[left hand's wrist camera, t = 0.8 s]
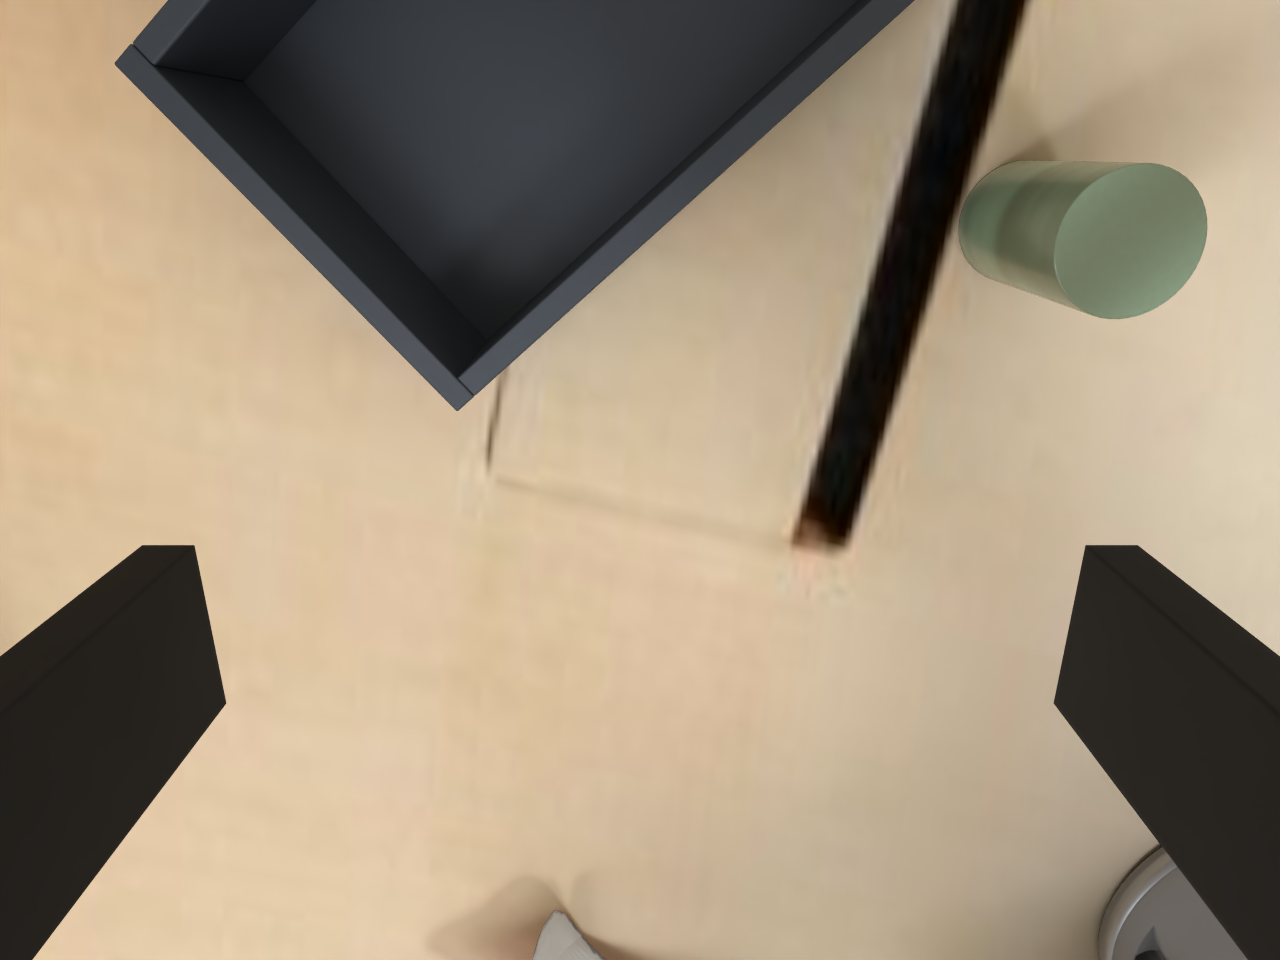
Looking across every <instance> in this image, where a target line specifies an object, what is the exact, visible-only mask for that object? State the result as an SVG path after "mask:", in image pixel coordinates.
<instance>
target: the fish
mask: <svg viewBox="0 0 1280 960" xmlns="http://www.w3.org/2000/svg"><path fill="white" fill-rule="evenodd" d="M532 960H605V958H604V957H603V956H602V955H601V954H600V953H599V952H598V951H597V950H596V949H595V948H594V947H593V946H592V945H591V944H590V943H589V942H588V941H587V940H586V939H585V938H584V937H583V936H582V935H581V934H580V932H579V931H578V929H577V928H576V926H575V925H574V924H573V922H572V921H571V920H570V919H569V918H568V917H567V916H566V915H565V914H564V913H562V912H560V911H554V912H553V913H552V914H551V916H550V917H549V919H548V920H547V922H546V923H545V924H544V926H543V928H542V931H541V934H540V936H539V939H538V942H537V945H536V949H535V952H534V955H533V959H532Z"/></svg>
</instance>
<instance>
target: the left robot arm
mask: <svg viewBox="0 0 1280 960" xmlns="http://www.w3.org/2000/svg"><path fill="white" fill-rule="evenodd" d="M225 704H226V700H225V695H224V690H223V685H222V680H221V675H220V670H219V665H218V660H217V655H216V650H215V645H214V640H213V635H212V630H211V625H210V620H209V615H208V610H207V606H206V601H205V596H204V591H203V586H202V581H201V576H200V571H199V566H198V561H197V556H196V551H195V546H194V545H142V546H141V547H140V548H138V549H137V550H136V551H134V552H133V553H132V554H131V555H129V556H128V557H127V558H126V559H124V560H123V561H122V562H120V563H119V564H118V565H117V566H115V567H114V568H113V569H111V570H110V571H109V572H108V573H106V574H105V575H104V576H103V577H101V578H100V579H99V580H97V581H96V582H95V583H94V584H92V585H91V586H90V587H88V588H87V589H86V590H85V591H83V592H82V593H81V594H79V595H78V596H77V597H76V598H74V599H73V600H72V601H71V602H69V603H68V604H67V605H65V606H64V607H63V608H62V609H60V610H59V611H58V612H56V613H55V614H54V615H53V616H51V617H50V618H49V619H48V620H46V621H45V622H44V623H42V624H41V625H40V626H39V627H37V628H36V629H35V630H33V631H32V632H31V633H30V634H28V635H27V636H26V637H24V638H23V639H22V640H21V641H19V642H18V643H17V644H16V645H14V646H13V647H12V648H10V649H9V650H8V651H7V652H5V653H4V654H3V655H1V656H0V960H32V959H33V958H34V957H35V956H36V954H37V953H38V952H39V950H40V949H41V948H42V946H43V945H44V944H45V942H46V941H47V940H48V938H49V937H50V936H51V934H52V933H53V932H54V930H55V929H56V928H57V926H58V925H59V924H60V922H61V921H62V920H63V918H64V917H65V916H66V915H67V913H68V912H69V911H70V909H71V908H72V907H73V905H74V904H75V903H76V901H77V900H78V899H79V897H80V896H81V895H82V893H83V892H84V891H85V889H86V888H87V887H88V885H89V884H90V883H91V881H92V880H93V879H94V878H95V876H96V875H97V874H98V872H99V871H100V870H101V868H102V867H103V866H104V864H105V863H106V862H107V860H108V859H109V858H110V856H111V855H112V854H113V852H114V851H115V850H116V848H117V847H118V846H119V844H120V843H121V842H122V840H123V839H124V838H125V837H126V835H127V834H128V833H129V831H130V830H131V829H132V827H133V826H134V825H135V823H136V822H137V821H138V819H139V818H140V817H141V815H142V814H143V813H144V811H145V810H146V809H147V807H148V806H149V805H150V803H151V802H152V801H153V799H154V798H155V797H156V796H157V794H158V793H159V792H160V790H161V789H162V788H163V786H164V785H165V784H166V782H167V781H168V780H169V778H170V777H171V776H172V774H173V773H174V772H175V770H176V769H177V768H178V766H179V765H180V764H181V762H182V761H183V760H184V759H185V757H186V756H187V755H188V753H189V752H190V751H191V749H192V748H193V747H194V745H195V744H196V743H197V741H198V740H199V739H200V737H201V736H202V735H203V733H204V732H205V731H206V729H207V728H208V727H209V725H210V724H211V723H212V721H213V720H214V719H215V718H216V716H217V715H218V714H219V712H220V711H221V710H222V708H223V707H224V706H225ZM1054 704H1055V706H1056V707H1057V708H1058V710H1059V711H1060V712H1061V714H1062V715H1063V716H1064V718H1065V719H1066V720H1067V721H1068V723H1069V724H1070V725H1071V727H1072V728H1073V729H1074V731H1075V732H1076V733H1077V735H1078V736H1079V737H1080V739H1081V740H1082V741H1083V743H1084V744H1085V745H1086V747H1087V748H1088V749H1089V751H1090V752H1091V753H1092V755H1093V756H1094V757H1095V759H1096V760H1097V761H1098V762H1099V764H1100V765H1101V766H1102V768H1103V769H1104V770H1105V772H1106V773H1107V774H1108V776H1109V777H1110V778H1111V780H1112V781H1113V782H1114V784H1115V785H1116V786H1117V788H1118V789H1119V790H1120V792H1121V793H1122V794H1123V796H1124V797H1125V798H1126V799H1127V801H1128V802H1129V803H1130V805H1131V806H1132V807H1133V809H1134V810H1135V811H1136V813H1137V814H1138V815H1139V817H1140V818H1141V819H1142V821H1143V822H1144V823H1145V825H1146V826H1147V827H1148V829H1149V830H1150V831H1151V833H1152V834H1153V835H1154V837H1155V838H1156V839H1157V840H1158V842H1159V843H1160V844H1161V846H1162V847H1161V848H1160V849H1158V850H1157V851H1156V852H1154V853H1153V854H1152V855H1150V856H1149V857H1148V858H1147V859H1146V860H1144V861H1143V862H1142V863H1141V864H1140V865H1139V866H1138V867H1137V868H1136V869H1135V870H1134V871H1133V872H1132V873H1131V874H1130V875H1129V876H1128V877H1127V878H1126V880H1125V881H1124V882H1123V883H1122V884H1121V886H1120V887H1119V888H1118V890H1117V891H1116V893H1115V894H1114V896H1113V898H1112V899H1111V901H1110V903H1109V905H1108V907H1107V909H1106V912H1105V914H1104V916H1103V919H1102V923H1101V926H1100V931H1099V938H1098V952H1099V959H1100V960H1280V656H1279V655H1277V654H1276V653H1275V652H1273V651H1272V650H1271V649H1270V648H1268V647H1267V646H1266V645H1264V644H1263V643H1262V642H1261V641H1259V640H1258V639H1257V638H1256V637H1254V636H1253V635H1252V634H1250V633H1249V632H1248V631H1247V630H1245V629H1244V628H1243V627H1241V626H1240V625H1239V624H1238V623H1236V622H1235V621H1234V620H1232V619H1231V618H1230V617H1229V616H1227V615H1226V614H1225V613H1224V612H1222V611H1221V610H1220V609H1218V608H1217V607H1216V606H1215V605H1213V604H1212V603H1211V602H1209V601H1208V600H1207V599H1206V598H1204V597H1203V596H1202V595H1201V594H1199V593H1198V592H1197V591H1195V590H1194V589H1193V588H1192V587H1190V586H1189V585H1188V584H1186V583H1185V582H1184V581H1183V580H1181V579H1180V578H1179V577H1177V576H1176V575H1175V574H1174V573H1172V572H1171V571H1170V570H1169V569H1167V568H1166V567H1165V566H1163V565H1162V564H1161V563H1160V562H1158V561H1157V560H1156V559H1154V558H1153V557H1152V556H1151V555H1149V554H1148V553H1147V552H1146V551H1144V550H1143V549H1142V548H1140V547H1139V546H1138V545H1086V546H1085V551H1084V556H1083V561H1082V566H1081V571H1080V576H1079V581H1078V586H1077V591H1076V596H1075V601H1074V606H1073V610H1072V615H1071V620H1070V625H1069V630H1068V635H1067V640H1066V645H1065V650H1064V655H1063V660H1062V665H1061V670H1060V675H1059V680H1058V685H1057V690H1056V695H1055V700H1054Z"/></svg>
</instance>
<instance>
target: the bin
mask: <svg viewBox="0 0 1280 960" xmlns="http://www.w3.org/2000/svg"><path fill="white" fill-rule="evenodd" d="M913 1H914V0H168V1H167V2H166V3H165V5H164V6H163V7H162V8H161V9H160V11H159V12H158V13H157V14H156V15H155V17H154V18H153V19H152V20H151V21H150V22H149V24H148V25H147V26H146V27H145V28H144V30H143V31H142V32H141V33H140V34H139V36H138V37H137V38H136V39H135V40H134V42H133V44H130V45H129V46H128V48H127V49H126V50H125V51H124V52H123V54H122V55H121V56H120V57H119V58H118V60H117V61H116V62H115V65H116V66H117V67H118V68H119V69H120V70H121V71H122V72H123V73H124V74H125V75H126V76H127V77H128V78H129V79H130V80H131V81H132V83H133V84H134V85H135V86H136V87H137V88H138V89H139V90H140V91H141V92H142V93H143V94H144V95H145V96H146V97H147V98H148V99H149V100H150V101H151V102H152V103H153V104H154V105H155V106H156V107H157V108H158V109H159V110H160V111H161V112H162V113H163V114H164V115H165V116H166V117H167V118H168V119H169V120H170V121H171V122H172V123H173V124H174V125H175V126H176V127H177V128H178V129H179V130H180V131H181V132H182V133H183V134H184V135H185V136H186V137H187V138H188V139H189V140H190V141H191V142H192V143H193V144H194V145H195V146H196V147H197V148H198V149H199V150H200V151H201V152H202V153H203V154H204V155H205V156H206V158H207V159H208V160H209V161H210V162H211V163H212V164H213V165H214V166H215V167H216V168H217V169H218V170H219V171H220V172H221V173H222V174H223V175H224V176H225V177H226V178H227V179H228V180H229V181H230V182H231V183H232V184H233V185H234V186H235V187H236V188H237V189H238V190H239V191H240V192H241V193H242V194H243V195H244V196H245V197H246V198H247V199H248V200H249V201H250V202H251V203H252V204H253V205H254V206H255V207H256V208H257V209H258V210H259V211H260V212H261V213H262V214H263V215H264V216H265V217H266V218H267V219H268V220H269V221H270V222H271V223H272V224H273V225H274V226H275V227H276V228H277V229H278V230H279V231H280V232H281V234H282V235H283V236H284V237H285V238H286V239H287V240H288V241H289V242H290V243H291V244H292V245H293V246H294V247H295V248H296V249H297V250H298V251H299V252H300V253H301V254H302V255H303V256H304V257H305V258H306V259H307V260H308V261H309V262H310V263H311V264H312V265H313V266H314V267H315V268H316V269H317V270H318V271H319V272H320V273H321V274H322V275H323V276H324V277H325V278H326V279H327V280H328V281H329V282H330V283H331V284H332V285H333V286H334V287H335V288H336V289H337V290H338V291H339V292H340V293H341V294H342V295H343V296H344V297H345V298H346V299H347V300H348V301H349V302H350V303H351V304H352V305H353V306H354V307H355V309H356V310H357V311H358V312H359V313H360V314H361V315H362V316H363V317H364V318H365V319H366V320H367V321H368V322H369V323H370V324H371V325H372V326H373V327H374V328H375V329H376V330H377V331H378V332H379V333H380V334H381V335H382V336H383V337H384V338H385V339H386V340H387V341H388V342H389V343H390V344H391V345H392V346H393V347H394V348H395V349H396V350H397V351H398V352H399V353H400V354H401V355H402V356H403V357H404V358H405V359H406V360H407V361H408V362H409V363H410V364H411V365H412V366H413V367H414V368H415V369H416V370H417V371H418V372H419V373H420V374H421V375H422V376H423V377H424V378H425V379H426V380H427V381H428V382H429V383H430V385H431V386H432V387H433V388H434V389H435V390H436V391H437V392H438V393H439V394H440V395H441V396H442V397H443V398H444V399H445V400H446V401H447V402H448V403H449V404H450V405H451V406H452V407H453V408H454V409H455V410H456V411H459V410H460V409H461V408H462V407H463V406H464V405H465V404H466V403H467V402H469V401H470V400H471V399H472V398H473V397H474V395H476V394H477V393H478V392H480V391H481V390H482V389H483V388H484V387H485V386H486V385H487V384H488V383H490V382H491V381H492V380H493V379H494V378H495V377H496V376H497V375H498V374H500V373H501V372H502V371H503V370H504V369H505V368H506V367H507V366H509V365H510V364H511V363H512V362H513V361H514V360H515V359H516V358H517V357H519V356H520V355H521V354H522V353H523V352H524V351H525V350H526V349H527V348H529V347H530V346H531V345H532V344H533V343H534V342H535V341H536V340H537V339H539V338H540V337H541V336H542V335H543V334H544V333H545V332H546V331H547V330H549V329H550V328H551V327H552V326H553V325H554V324H555V323H556V322H557V321H559V320H560V319H561V318H562V317H563V316H564V315H565V314H566V313H567V312H569V311H570V310H571V309H572V308H573V307H574V306H575V305H576V304H577V303H579V302H580V301H581V300H582V299H583V298H584V297H585V296H586V295H587V294H589V293H590V292H591V291H592V290H593V289H594V288H595V287H596V286H597V285H599V284H600V283H601V282H602V281H603V280H604V279H605V278H606V277H607V276H609V275H610V274H611V273H612V272H613V271H614V270H615V269H616V268H617V267H619V266H620V265H621V264H622V263H623V262H624V261H625V260H626V259H627V258H629V257H630V256H631V255H632V254H633V253H634V252H635V251H636V250H637V249H639V248H640V247H641V246H642V245H643V244H644V243H645V242H646V241H647V240H649V239H650V238H651V237H652V236H653V235H654V234H655V233H656V232H657V231H659V230H660V229H661V228H662V227H663V226H664V225H665V224H666V223H667V222H669V221H670V220H671V219H672V218H673V217H674V216H675V215H676V214H677V213H679V212H680V211H681V210H682V209H683V208H684V207H685V206H686V205H687V204H689V203H690V202H691V201H692V200H693V199H694V198H695V197H696V196H697V195H699V194H700V193H701V192H702V191H703V190H704V189H705V188H706V187H707V186H709V185H710V184H711V183H712V182H713V181H714V180H715V179H716V178H718V177H719V176H720V175H721V174H722V173H723V172H724V171H725V170H726V169H728V168H729V167H730V166H731V165H732V164H733V163H734V162H735V161H736V160H738V159H739V158H740V157H741V156H742V155H743V154H744V153H745V152H746V151H748V150H749V149H750V148H751V147H752V146H753V145H754V144H755V143H756V142H758V141H759V140H760V139H761V138H762V137H763V136H764V135H765V134H766V133H768V132H769V131H770V130H771V129H772V128H773V127H774V126H775V125H776V124H778V123H779V122H780V121H781V120H782V119H783V118H784V117H785V116H786V115H788V114H789V113H790V112H791V111H792V110H793V109H794V108H795V107H796V106H798V105H799V104H800V103H801V102H802V101H803V100H804V99H805V98H806V97H808V96H809V95H810V94H811V93H812V92H813V91H814V90H815V89H816V88H818V87H819V86H820V85H821V84H822V83H823V82H824V81H825V80H826V79H828V78H829V77H830V76H831V75H832V74H833V73H834V72H835V71H836V70H838V69H839V68H840V67H841V66H842V65H843V64H844V63H845V62H846V61H848V60H849V59H850V58H851V57H852V56H853V55H854V54H855V53H856V52H858V51H859V50H860V49H861V48H862V47H863V46H864V45H865V44H866V43H868V42H869V41H870V40H871V39H872V38H873V37H874V36H875V35H876V34H878V33H879V32H880V31H881V30H882V29H883V28H884V27H885V26H886V25H888V24H889V23H890V22H891V21H892V20H893V19H894V18H895V17H896V16H898V15H899V14H900V13H901V12H902V11H903V10H904V9H905V8H906V7H908V6H909V5H910V4H911V3H912V2H913Z"/></svg>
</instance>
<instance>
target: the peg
mask: <svg viewBox="0 0 1280 960" xmlns="http://www.w3.org/2000/svg"><path fill="white" fill-rule="evenodd" d="M1206 236H1207V216H1206V210H1205V206H1204V203H1203V200H1202V198H1201V196H1200V194H1199V192H1198V191H1197V189H1196V188H1195V186H1194V185H1193V184H1192V183H1191V182H1190V181H1189V180H1188V179H1187V178H1186V177H1185V176H1184V175H1182V174H1181V173H1179V172H1178V171H1176V170H1174V169H1172V168H1170V167H1167V166H1163V165H1160V164H1153V163H1121V162H1077V161H1033V160H1023V161H1015V162H1012V163H1008V164H1005V165H1003V166H1000V167H998V168H997V169H995V170H993V171H992V172H990V173H989V174H987V175H986V176H985V177H984V178H983V179H982V180H981V181H979V183H978V184H977V185H976V186H975V187H974V188H973V190H972V191H971V193H970V194H969V196H968V198H967V200H966V202H965V204H964V206H963V209H962V212H961V216H960V221H959V240H960V245H961V248H962V251H963V253H964V256H965V257H966V259H967V261H968V262H969V263H970V265H971V266H972V267H973V268H974V269H975V270H976V271H978V272H979V273H980V274H982V275H984V276H986V277H988V278H990V279H993V280H995V281H998V282H1001V283H1004V284H1006V285H1009V286H1012V287H1015V288H1018V289H1020V290H1023V291H1026V292H1029V293H1031V294H1034V295H1037V296H1040V297H1043V298H1045V299H1048V300H1051V301H1054V302H1056V303H1059V304H1062V305H1065V306H1067V307H1070V308H1073V309H1076V310H1079V311H1081V312H1084V313H1087V314H1090V315H1093V316H1096V317H1100V318H1106V319H1123V318H1130V317H1134V316H1138V315H1141V314H1143V313H1146V312H1149V311H1151V310H1153V309H1155V308H1156V307H1158V306H1160V305H1161V304H1163V303H1164V302H1166V301H1167V300H1169V299H1170V298H1171V297H1172V296H1173V295H1175V294H1176V293H1177V292H1178V291H1179V290H1180V289H1181V288H1182V287H1183V286H1184V284H1185V283H1186V282H1187V280H1188V279H1189V278H1190V276H1191V275H1192V273H1193V272H1194V270H1195V269H1196V267H1197V265H1198V263H1199V260H1200V258H1201V255H1202V253H1203V250H1204V246H1205V242H1206Z"/></svg>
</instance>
